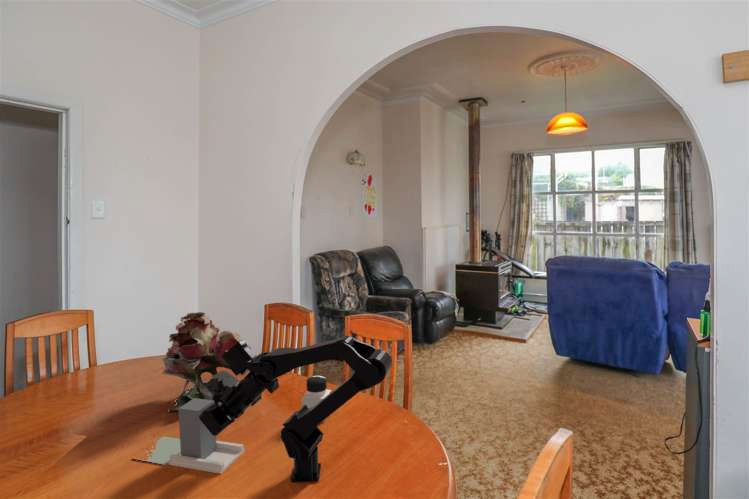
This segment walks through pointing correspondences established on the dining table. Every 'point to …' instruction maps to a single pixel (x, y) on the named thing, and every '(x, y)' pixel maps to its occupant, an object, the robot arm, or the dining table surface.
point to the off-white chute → (211, 458)
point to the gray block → (195, 430)
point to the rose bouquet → (197, 355)
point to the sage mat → (164, 450)
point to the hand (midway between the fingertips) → (213, 425)
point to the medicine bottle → (315, 391)
